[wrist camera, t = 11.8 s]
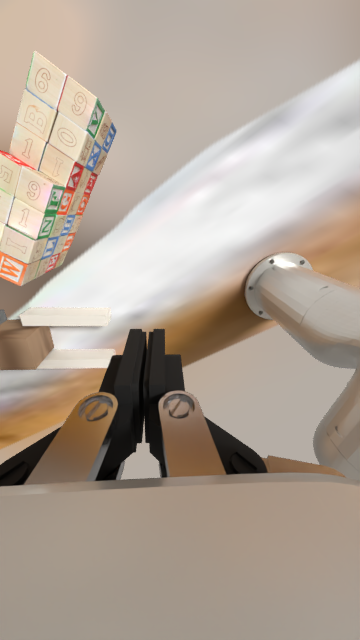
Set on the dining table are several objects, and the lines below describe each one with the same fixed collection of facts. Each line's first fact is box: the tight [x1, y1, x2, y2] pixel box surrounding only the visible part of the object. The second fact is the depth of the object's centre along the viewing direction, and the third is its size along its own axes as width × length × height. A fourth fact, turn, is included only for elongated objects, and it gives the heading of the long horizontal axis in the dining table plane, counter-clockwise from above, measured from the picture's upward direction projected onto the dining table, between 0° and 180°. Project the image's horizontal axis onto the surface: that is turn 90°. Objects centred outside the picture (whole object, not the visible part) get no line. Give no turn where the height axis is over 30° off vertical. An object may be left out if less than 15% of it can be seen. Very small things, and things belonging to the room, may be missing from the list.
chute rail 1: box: [20, 307, 111, 326], centre depth 39 cm, size 14×2×4 cm, turn 88°
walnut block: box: [0, 320, 54, 370], centre depth 39 cm, size 7×6×7 cm
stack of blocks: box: [0, 51, 116, 286], centre depth 27 cm, size 21×6×12 cm, turn 148°
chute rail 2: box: [37, 349, 115, 369], centre depth 43 cm, size 14×2×4 cm, turn 88°
